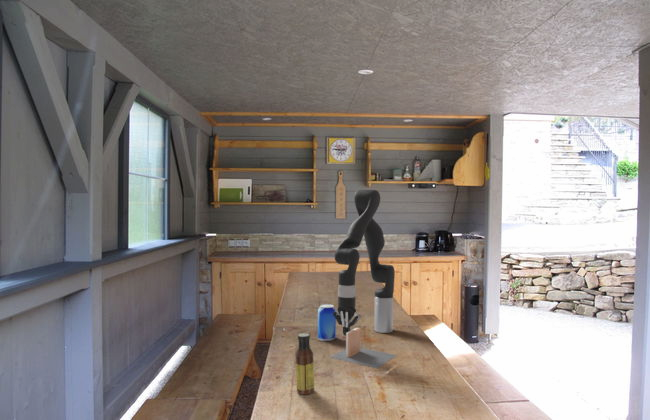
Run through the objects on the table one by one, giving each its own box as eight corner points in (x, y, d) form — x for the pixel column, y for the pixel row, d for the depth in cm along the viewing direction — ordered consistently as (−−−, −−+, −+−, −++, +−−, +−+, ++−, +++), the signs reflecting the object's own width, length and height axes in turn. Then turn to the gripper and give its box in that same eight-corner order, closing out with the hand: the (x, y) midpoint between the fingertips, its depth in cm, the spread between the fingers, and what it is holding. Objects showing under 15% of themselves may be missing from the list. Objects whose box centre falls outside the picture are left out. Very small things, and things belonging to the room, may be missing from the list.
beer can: (320, 342, 212) (320, 308, 212) (315, 337, 220) (315, 304, 220) (337, 341, 215) (338, 307, 214) (332, 336, 223) (332, 303, 222)
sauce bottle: (314, 387, 163) (314, 331, 162) (314, 395, 156) (314, 337, 156) (295, 388, 162) (295, 331, 162) (295, 395, 156) (295, 337, 156)
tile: (356, 350, 200) (356, 327, 200) (360, 351, 199) (360, 328, 199) (345, 356, 193) (346, 332, 192) (349, 357, 192) (349, 333, 191)
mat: (351, 347, 207) (351, 345, 207) (396, 356, 195) (396, 355, 195) (329, 358, 192) (329, 357, 192) (377, 369, 180) (377, 368, 180)
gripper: (364, 295, 197) (364, 335, 197) (338, 291, 204) (337, 330, 204) (355, 298, 190) (355, 340, 191) (328, 294, 198) (328, 334, 198)
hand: (346, 335), depth 198 cm, fingers closed
